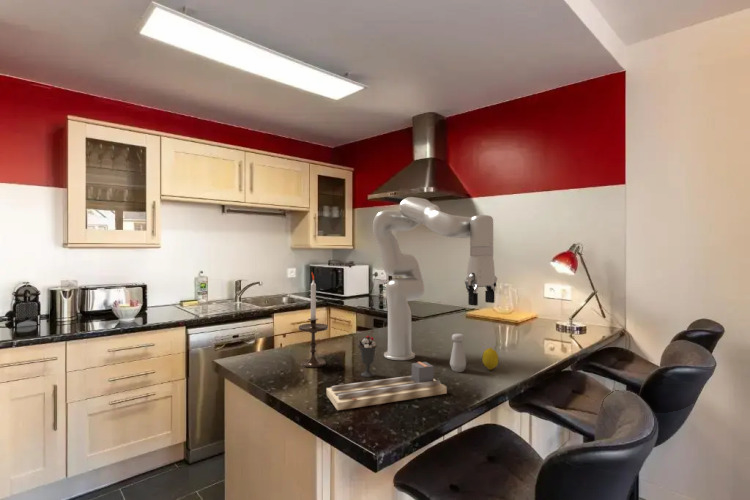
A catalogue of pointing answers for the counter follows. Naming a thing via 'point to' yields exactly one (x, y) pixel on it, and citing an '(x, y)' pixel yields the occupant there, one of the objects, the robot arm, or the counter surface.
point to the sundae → (367, 354)
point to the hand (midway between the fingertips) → (481, 303)
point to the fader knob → (422, 372)
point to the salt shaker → (458, 354)
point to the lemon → (490, 358)
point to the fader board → (381, 392)
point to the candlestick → (313, 331)
